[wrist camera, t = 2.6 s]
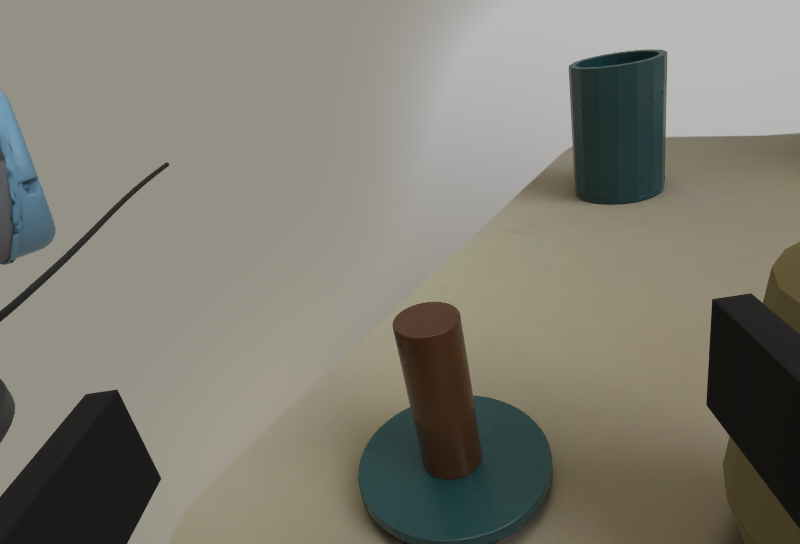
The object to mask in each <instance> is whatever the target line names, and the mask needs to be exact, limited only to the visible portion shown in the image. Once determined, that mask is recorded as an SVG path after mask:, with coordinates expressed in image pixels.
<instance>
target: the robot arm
mask: <svg viewBox="0 0 800 544" xmlns="http://www.w3.org/2000/svg"><path fill="white" fill-rule="evenodd" d="M168 166H169V163H165V164H164V165H162V166H161V167H160V168H158V169H157V170H155V171H154V172H153V173H152V174H150V175H149V176H148V177H146V178H145V179H144V180H143V181H142V182H140V183H139V184H138V185H137V186H136V187H134V188H133V189H132V190H131V191H130V192H129V193H128V194H127V195H126V196H124V197H123V198H122V199H121V200H120V201H119V202H118V203H117V204H116V205H115V206H114V207H113V208H112V209H111V210H110V211H109V212H108V213H107V214H106V215H105V216H104V217H103V218H102V219H101V220H100V221H99V222H98V223H97V224H96V225H95V226H94V227H93V228H92V229H91V230H90V231H89V232H88V233H87V234H86V235H85V236H84V237H82V238H81V239H80V240H79V241H78V242H77V243H76V244H75V245H74V246H73V247H72V248H71V249H70V250H69V251H68V252H67V253H66V254H65V255H64V256H63V257H62V258H60V259H59V260H58V261H57V262H56V263H55V264H54V265H53V266H52V267H51V268H49V269H48V270H47V271H46V272H45V273H44V274H43V275H42V276H41V277H39V278H38V279H37V280H36V281H35V282H34V283H33V284H31V285H30V286H29V287H28V288H27V289H26V290H25V291H24V292H22V293H21V294H20V295H19V296H18V297H17V298H16V299H15V300H13V301H12V302H11V303H10V304H8V305H7V306H6V307H5V308H4V309H3V310H1V311H0V321H2V320H3V319H4V318H5V317H7V316H8V315H9V314H10V313H11V312H12V311H13V310H15V309H16V308H17V307H18V306H19V305H20V304H22V303H23V302H24V301H25V300H26V299H27V298H28V297H29V296H30V295H31V294H33V292H35V291H36V290H37V289H38V288H39V287H40V286H41V285H42V284H43V283H45V282H46V280H48V279H49V278H50V277H51V276H52V275H53V274H54V273H55V272H56V271H57V270H58V269H60V267H62V266H63V265H64V264H65V263H66V262H67V261H68V260H69V259H70V258H71V257H72V256H73V255H74V254H75V253H76V252H77V251H78V250H79V249H80V248H81V247H82V246H83V245H84V244H85V243H86V242H87V241H88V240H89V239H90V238H91V237H92V235H94V234H95V233H96V232H97V231H98V230H99V228H100V227H101V226H102V225H103V224H104V223H105V222H106V221H107V220H108V219H109V218H110V217H111V216H112V215H113V214H114V213H115V212H116V211H117V210H118V209H119V208H120V207H121V206H122V205H123V204H124V203H125V202H126V201H127V200H128V199H129V198H130V197H131V196H132V195H133V194H135V193H136V192H137V191H138V190H139V189H140V188H141V187H143V186H144V185H145V184H146V183H147V182H148V181H150V180H151V179H152V178H153V177H155V176H156V175H157V174H158V173H160V172H161V171H162V170H164V169H165V168H166V167H168ZM54 236H55V225H54V221H53V218H52V215H51V212H50V210H49V207H48V204H47V201H46V198H45V196H44V193H43V191H42V188H41V185H40V183H39V180H38V177H37V174H36V171H35V169H34V165H33V163H32V160H31V157H30V155H29V152H28V149H27V146H26V144H25V141H24V138H23V136H22V133H21V130H20V128H19V125H18V122H17V120H16V117H15V115H14V112H13V110H12V107H11V104H10V102H9V100H8V98H7V97H6V96H5V94H4V93H3V92H1V91H0V264H3V265H4V264H9V263H12V262H13V261H15V259H16V258H19V257H21V256H24V255H27V254H29V253H32V252H35V251H38V250H40V249H43V248H45V247H46V246H48V245H49V244H50V243H51V242H52V240H53V238H54ZM707 406H708V408H709V409H710V410H711V412H712V413H713V414H714V416H715V417H716V418H717V420H718V421H719V422H720V424H721V425H722V426H723V428H724V429H725V430H726V432H727V433H728V434H729V436H730V437H731V438H732V440H733V441H734V442H735V444H736V445H737V446H738V448H739V449H740V450H741V452H742V453H743V454H744V456H745V457H746V458H747V460H748V461H749V462H750V464H751V465H752V466H753V468H754V469H755V470H756V472H757V473H758V474H759V475H760V477H761V478H762V479H763V481H764V482H765V483H766V485H767V486H768V487H769V489H770V490H771V491H772V493H773V494H774V495H775V497H776V498H777V499H778V501H779V502H780V503H781V505H782V506H783V507H784V509H785V510H786V511H787V513H788V514H789V515H790V517H791V518H792V519H793V521H794V522H795V523H796V525H797V526H798V527H799V529H800V334H799V333H798V332H797V331H795V330H794V329H793V328H792V327H791V326H789V325H788V324H787V323H786V322H785V321H783V320H782V319H781V318H780V317H779V316H777V315H776V314H775V313H774V312H773V311H771V310H770V309H769V308H768V307H767V306H765V305H764V304H763V303H762V302H761V301H759V300H758V299H757V298H756V297H755V296H753V295H752V294H744V295H738V296H731V297H725V298H718V299H712V316H711V333H710V351H709V369H708V387H707ZM160 480H161V477H160V475H159V473H158V471H157V469H156V467H155V465H154V463H153V461H152V459H151V457H150V455H149V453H148V451H147V449H146V447H145V445H144V443H143V441H142V439H141V437H140V435H139V433H138V431H137V429H136V427H135V425H134V423H133V421H132V419H131V417H130V415H129V413H128V411H127V409H126V407H125V405H124V403H123V400H122V398H121V396H120V394H119V393H118V391H117V390H112V391H106V392H99V393H92V394H86V395H85V396H84V397H83V399H82V400H81V401H80V402H79V403H78V404H77V406H76V407H75V408H74V409H73V410H72V412H71V413H70V414H69V415H68V417H67V418H66V419H65V420H64V421H63V423H62V424H61V425H60V426H59V427H58V429H57V430H56V431H55V432H54V433H53V434H52V436H51V437H50V438H49V439H48V441H47V442H46V443H45V444H44V445H43V447H42V448H41V449H40V450H39V451H38V452H37V454H36V455H35V456H34V457H33V459H32V460H31V461H30V462H29V463H28V464H27V466H26V467H25V468H24V469H23V470H22V472H21V473H20V474H19V475H18V476H17V478H16V479H15V480H14V481H13V482H12V484H11V485H10V486H9V487H8V488H7V490H6V491H5V492H4V493H3V494H2V496H1V497H0V544H127V543H128V541H129V539H130V537H131V535H132V533H133V531H134V529H135V527H136V525H137V524H138V522H139V520H140V518H141V516H142V514H143V512H144V510H145V508H146V506H147V505H148V503H149V501H150V499H151V497H152V495H153V493H154V491H155V489H156V487H157V486H158V484H159V482H160Z"/></svg>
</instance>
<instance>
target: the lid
mask: <svg viewBox="0 0 800 544" xmlns="http://www.w3.org/2000/svg"><path fill="white" fill-rule="evenodd" d="M393 330H394V334H395V339H396V343H397V348H398V352H399V357H400V361H401V366H402V370H403V375H404V379H405V384H406V389H407V393H408V398H409V402H410V408H408V409H406V410H404V411H402V412H400V413H399V414H397V415H395V416H394V417H393V418H391V419H390V420H388V421H387V422H386V423H385V424H384V425H383V426H382V427H380V429H379V430H378V431H377V432H376V433H375V434H374V435H373V437H372V438H371V440H370V441H369V442H368V444H367V446H366V448H365V450H364V452H363V455H362V458H361V460H360V466H359V477H358V480H359V486H360V491H361V494H362V498H363V500H364V503H365V506H366V508H367V510H368V511H369V513H370V515H371V516H372V517H373V519H374V520H375V521H376V522H377V524H379V525H380V526H381V527H382V528H383V529H384V530H385V531H386V532H388V533H390V534H391V535H393V536H394V537H396V538H398V539H400V540H402V541H404V542H406V543H409V544H489V543H492V542H494V541H497V540H499V539H501V538H504V537H505V536H507V535H509V534H511V533H512V532H514V531H516V530H517V529H518V528H520V527H521V526H522V525H524V524H525V523H526V522H527V521H528V520H529V519H530V518H531V517H532V516H533V515H534V514H535V513H536V512H537V510H538V509H539V507H540V506H541V505H542V503H543V501H544V499H545V497H546V495H547V493H548V491H549V487H550V484H551V479H552V457H551V451H550V447H549V444H548V441H547V439H546V437H545V435H544V433H543V432H542V430H541V429H540V427H539V426H538V425H537V424H536V423H535V422H534V421H533V420H532V419H531V418H530V417H529V416H528V415H527V414H525V413H524V412H522V411H521V410H519V409H517V408H515V407H513V406H511V405H510V404H507V403H504V402H502V401H499V400H495V399H491V398H487V397H481V396H473V393H472V387H471V380H470V374H469V368H468V361H467V355H466V349H465V343H464V336H463V330H462V324H461V317H460V313H459V311H458V309H457V308H455V307H454V306H452V305H450V304H447V303H442V302H427V303H421V304H417V305H414V306H411V307H409V308H407V309H405V310H403V311H402V312H400V313H399V314H398V315H397V316H396V317H395V319H394V321H393Z"/></svg>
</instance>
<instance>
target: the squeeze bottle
mask: <svg viewBox="0 0 800 544" xmlns="http://www.w3.org/2000/svg"><path fill="white" fill-rule="evenodd" d="M763 304H764V305H765V306H767V307H768V308H769V309H770V310H771V311H773V312H774V313H775V314H776V315H777V316H779V317H780V318H781V319H782V320H783V321H785V322H786V323H787V324H788V325H789V326H791V327H792V328H793V329H794V330H795V331H797V332H798V333H799V334H800V242H799V243H797V244H795V245H793V246H791V247H789V248H787V249H785V250H784V252H783V253H782V254H781V256H780V257H779V258H778V260H777V261H776V262H775V264H774V265H773V266H772V269H771V273H770V277H769V281H768V285H767V289H766V293H765V297H764V301H763ZM723 469H724V478H725V487H726V496H727V500H728V503H729V505H730V508H731V510H732V513H733V515H734V518H735V520H736V523H737V525H738V528H739V530H740V533H741V535H742V538H743V540H744V543H745V544H800V529H799V527H798V526H797V525H796V523H795V522H794V521H793V519H792V518H791V517H790V515H789V514H788V513H787V511H786V510H785V509H784V507H783V506H782V505H781V503H780V502H779V501H778V499H777V498H776V497H775V495H774V494H773V493H772V491H771V490H770V489H769V487H768V486H767V485H766V483H765V482H764V481H763V479H762V478H761V477H760V475H759V474H758V473H757V472H756V470H755V469H754V468H753V466H752V465H751V464H750V462H749V461H748V460H747V458H746V457H745V456H744V454H743V453H742V452H741V450H740V449H739V448H738V446H737V445H736V444H735V442H734V441H733V440H732V438H731V437H730V438H729V442H728V446H727V450H726V454H725V458H724V462H723Z"/></svg>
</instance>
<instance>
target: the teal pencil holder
mask: <svg viewBox="0 0 800 544" xmlns="http://www.w3.org/2000/svg"><path fill="white" fill-rule="evenodd" d="M569 80H570V99H571V118H572V138H573V158H574V178H575V188H576V195H577V196H578V197H579V198H581V199H583V200H585V201H588V202H593V203H601V204H623V203H631V202H637V201H641V200H645V199H648V198H651V197H654V196H656V195H657V194H659V193H660V192H661V191H662V190H663V188H664V181H665V133H666V131H665V130H666V83H667V82H666V81H667V52H666V51H663V50H635V51H627V52H619V53H613V54H606V55H601V56H596V57H592V58H588V59H583V60H580V61H577V62H574V63H573V64H571V65H570V66H569Z"/></svg>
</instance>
